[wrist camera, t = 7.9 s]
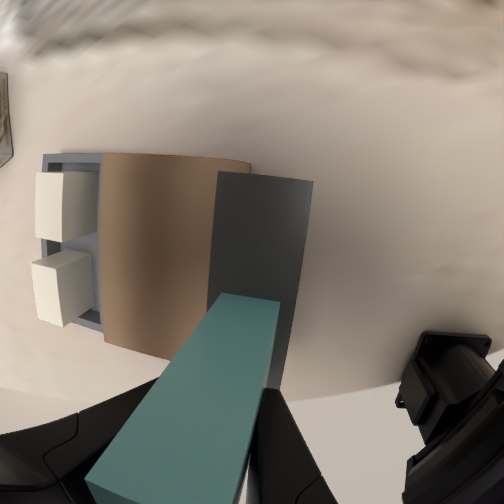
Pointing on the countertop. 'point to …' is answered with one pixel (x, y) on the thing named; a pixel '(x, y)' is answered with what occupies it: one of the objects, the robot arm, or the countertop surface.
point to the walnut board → (156, 247)
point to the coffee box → (4, 122)
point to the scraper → (218, 357)
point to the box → (85, 242)
